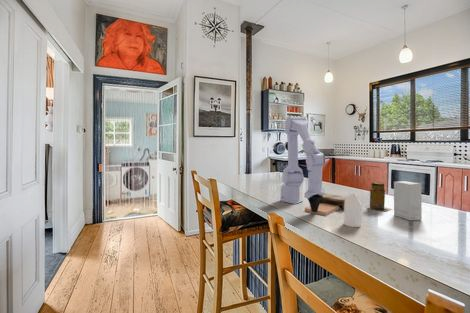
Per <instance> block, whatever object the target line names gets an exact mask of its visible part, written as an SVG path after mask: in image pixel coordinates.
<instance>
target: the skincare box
mask: <svg viewBox="0 0 470 313" xmlns="http://www.w3.org/2000/svg"><path fill="white" fill-rule="evenodd" d="M422 208H423V207H422V183H419V182H415V181H414V182H412V181H407V180H403V181H401V180H400V181H398V180H397V181H393V215H394V216H395V217H398V218H402V219H405V220H408V221H421V220H422V219H423V217H422V214H423V213H422V210H423V209H422Z"/></svg>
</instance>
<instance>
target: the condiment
mask: <svg viewBox="0 0 470 313" xmlns="http://www.w3.org/2000/svg"><path fill="white" fill-rule="evenodd" d="M370 185H371V187H370V190H369V206H367V207H365V208H366V209H369V210H376V211H382V212H389V211H390V210H392V208H390V207H385V202H386V201H385V198H386V190H385V184H384V183H382V182H377V181H375V182H371V184H370Z"/></svg>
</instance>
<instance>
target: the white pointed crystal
mask: <svg viewBox="0 0 470 313" xmlns="http://www.w3.org/2000/svg"><path fill="white" fill-rule="evenodd" d="M347 197H348V198H347V199H346V200H345V203H344V210H343V211H344V212H343V213H344V214H343V215H344V218H343V224H344V225H345V226H347V227H350V228H360V227H362V214H363V213H362V212H363V209H362V208H363V205H362V203H361V201H360V200H359V197H358V195H357V194H356V193H352V194H349V196H347Z"/></svg>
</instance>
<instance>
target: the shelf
mask: <svg viewBox="0 0 470 313" xmlns="http://www.w3.org/2000/svg"><path fill="white" fill-rule="evenodd" d="M319 195H322V196H323V198H322V199H321V201H320V203H325V204H331V205H336V206H341V207H342V210H343V211H344V203H345V200H346V199H347V198H348V197H349V196H343V195H336V194H330V193H325V192H324V194H319Z"/></svg>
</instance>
